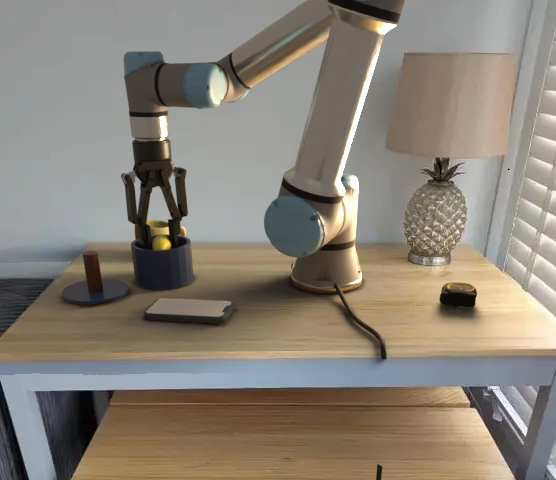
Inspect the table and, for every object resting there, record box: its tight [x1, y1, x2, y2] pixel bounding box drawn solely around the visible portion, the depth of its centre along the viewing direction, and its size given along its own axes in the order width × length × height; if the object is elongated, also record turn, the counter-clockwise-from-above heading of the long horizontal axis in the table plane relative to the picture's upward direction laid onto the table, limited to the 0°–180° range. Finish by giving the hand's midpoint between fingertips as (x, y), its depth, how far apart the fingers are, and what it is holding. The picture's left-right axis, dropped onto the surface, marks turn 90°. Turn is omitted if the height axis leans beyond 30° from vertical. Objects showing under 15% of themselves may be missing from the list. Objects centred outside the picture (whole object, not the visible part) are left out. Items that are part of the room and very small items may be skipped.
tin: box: [130, 235, 194, 291], centre depth 133 cm, size 13×13×8 cm
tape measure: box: [439, 281, 478, 309], centre depth 121 cm, size 7×7×4 cm
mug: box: [134, 219, 187, 240], centre depth 149 cm, size 12×10×10 cm
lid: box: [61, 250, 130, 305], centre depth 126 cm, size 14×14×9 cm
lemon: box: [152, 235, 171, 250], centre depth 132 cm, size 4×8×4 cm, turn 0°
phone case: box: [143, 297, 235, 325], centre depth 118 cm, size 9×2×16 cm
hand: (161, 252), depth 132 cm, fingers closed on lemon, 5 cm apart
